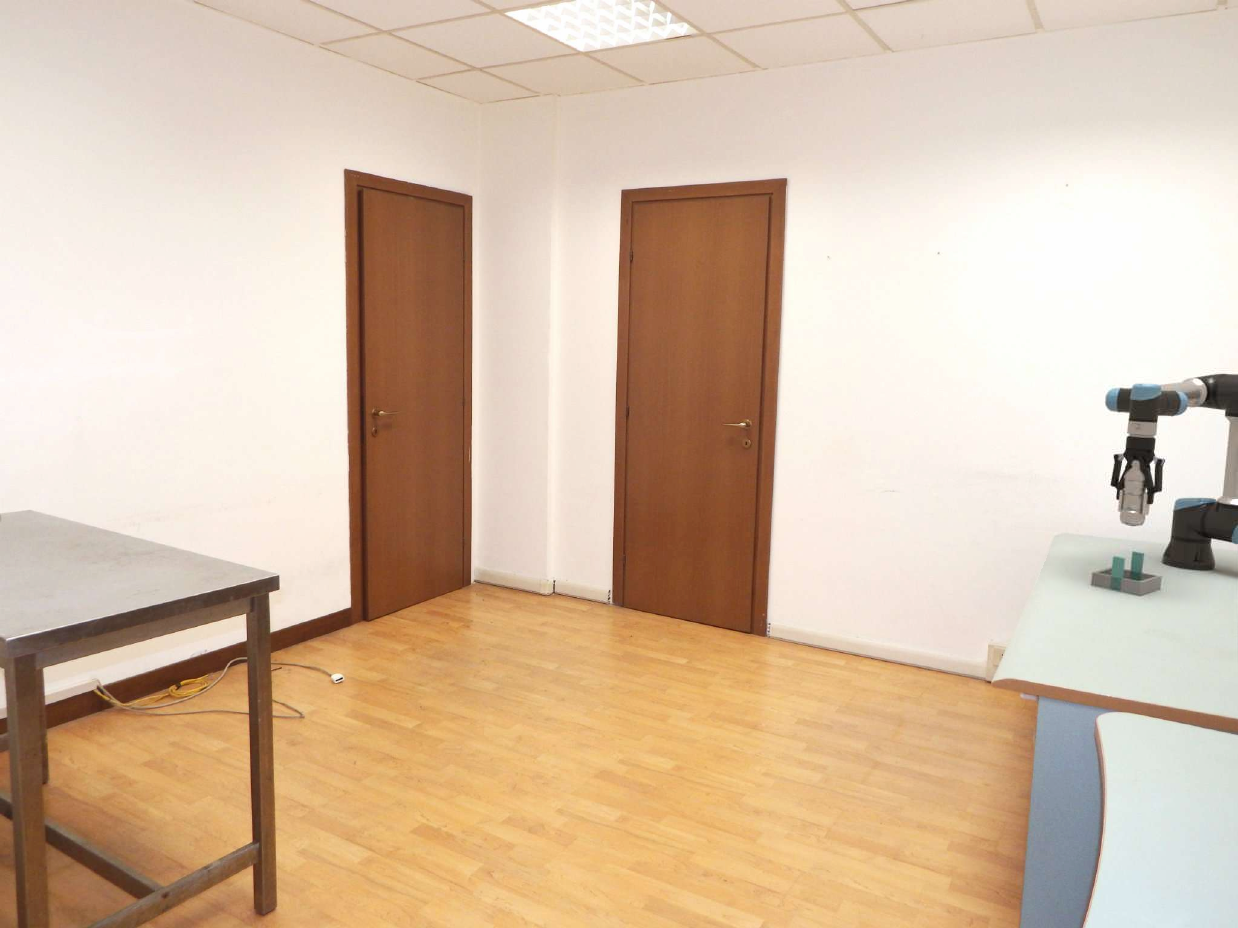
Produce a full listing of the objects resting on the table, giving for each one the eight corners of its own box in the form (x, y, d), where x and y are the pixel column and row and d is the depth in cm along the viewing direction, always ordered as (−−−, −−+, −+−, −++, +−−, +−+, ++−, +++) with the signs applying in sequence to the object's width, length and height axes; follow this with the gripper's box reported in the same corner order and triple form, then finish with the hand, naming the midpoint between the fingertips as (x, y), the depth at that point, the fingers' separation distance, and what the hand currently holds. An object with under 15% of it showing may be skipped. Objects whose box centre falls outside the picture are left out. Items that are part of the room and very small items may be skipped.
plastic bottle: (1147, 528, 268) (1155, 461, 265) (1122, 526, 269) (1129, 460, 266) (1139, 524, 274) (1146, 458, 271) (1115, 523, 275) (1122, 457, 273)
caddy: (1111, 579, 283) (1115, 547, 282) (1160, 589, 273) (1163, 556, 271) (1090, 585, 275) (1094, 552, 274) (1139, 595, 264) (1143, 562, 263)
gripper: (1102, 433, 273) (1094, 509, 276) (1171, 439, 258) (1162, 519, 261) (1113, 432, 278) (1105, 507, 281) (1182, 438, 263) (1173, 517, 266)
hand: (1133, 512), depth 271 cm, fingers closed on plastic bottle, 6 cm apart
